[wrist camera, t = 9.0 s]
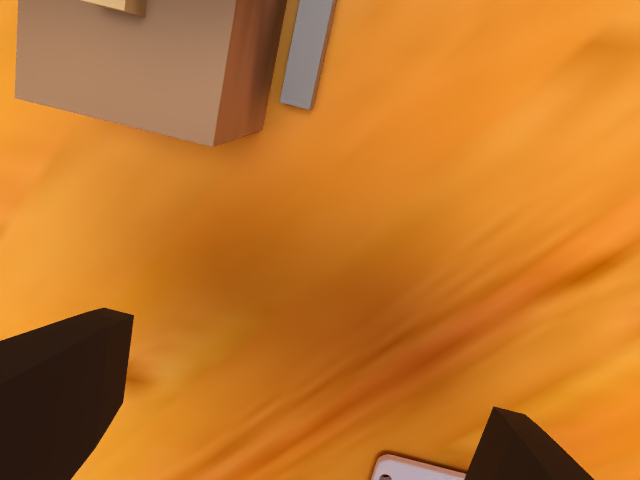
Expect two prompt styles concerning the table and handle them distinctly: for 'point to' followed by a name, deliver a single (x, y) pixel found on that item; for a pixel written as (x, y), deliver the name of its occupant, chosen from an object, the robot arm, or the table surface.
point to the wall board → (307, 52)
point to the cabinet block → (152, 62)
